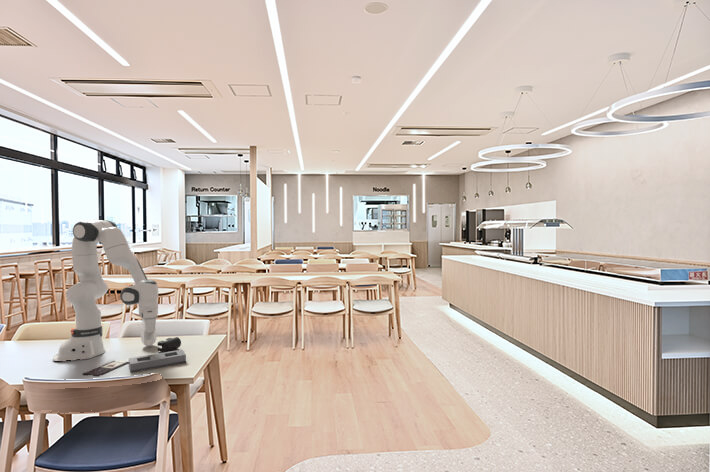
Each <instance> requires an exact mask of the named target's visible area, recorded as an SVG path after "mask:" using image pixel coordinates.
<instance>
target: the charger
mask: <svg viewBox="0 0 710 472" xmlns="http://www.w3.org/2000/svg"><path fill="white" fill-rule="evenodd" d="M142 344H143V345H144V346H145V345H148V344H153V333H151V339H150V340H147V334H146V332H145V329H143V343H142ZM153 345H154V344H153Z"/></svg>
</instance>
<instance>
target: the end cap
mask: <svg viewBox="0 0 710 472" xmlns="http://www.w3.org/2000/svg"><path fill="white" fill-rule="evenodd" d="M181 345H182V340H181V339H180V338H179V336H176V337H168V338H166V339H165V340H159V341H157V346H158V347H157V354H158V353H164V352H170V351H176V350H179V348H180V347H181Z"/></svg>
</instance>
